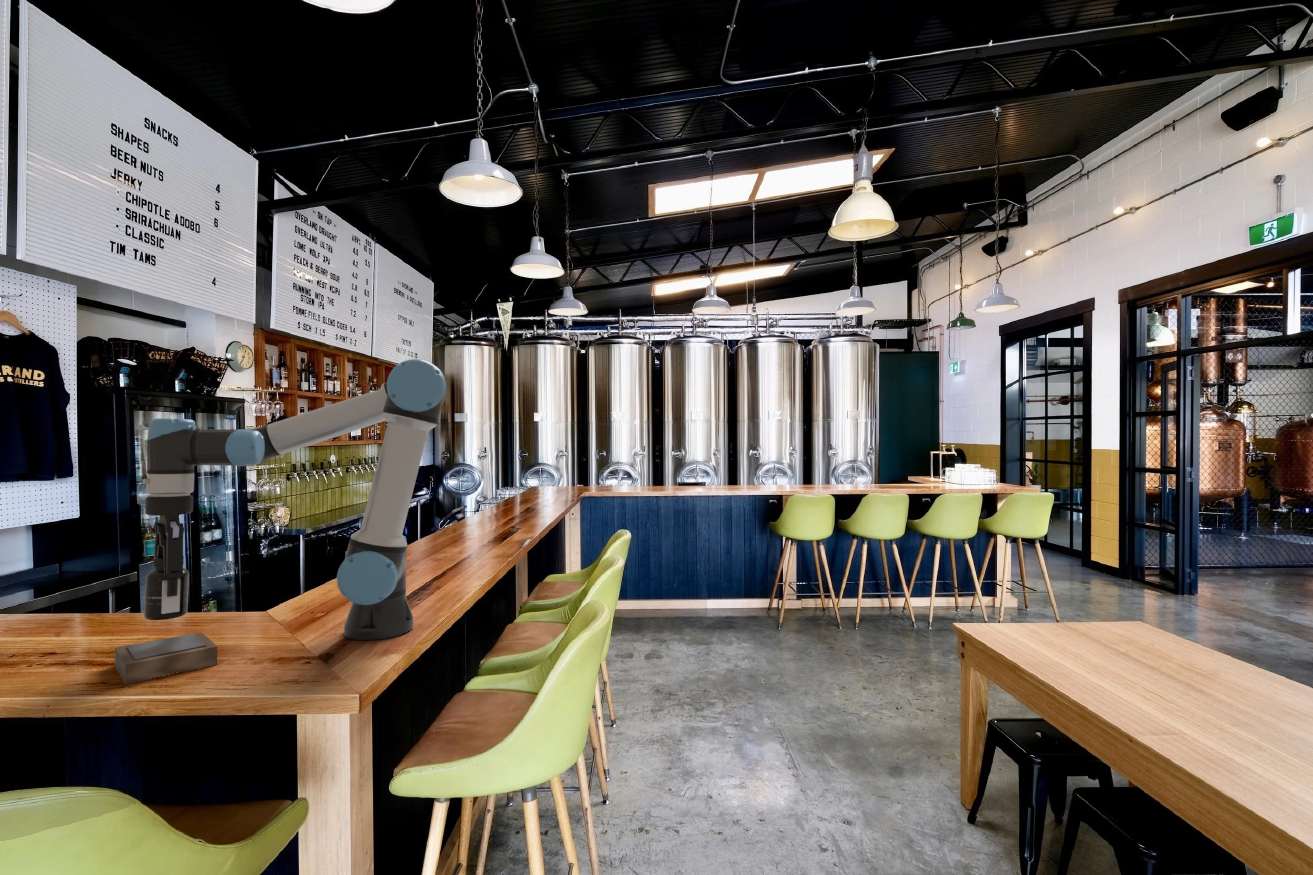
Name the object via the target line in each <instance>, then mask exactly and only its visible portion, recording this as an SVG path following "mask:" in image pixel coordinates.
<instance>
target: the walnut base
mask: <svg viewBox="0 0 1313 875" xmlns="http://www.w3.org/2000/svg"><path fill="white" fill-rule="evenodd" d="M213 665H214V666H218V645H217V644H215V643H214V642H213V641H212V640H211V639H210V638H208V636H207V635H205V633H203V632H202V631H201V632H200V631H199V632H195V633H188V634H183V635H177V636H172V637H171V636H170V637H166V638H161V639H155V640H154V639H153V640H149V641H144V642H138V643H133V644H128V645H122V646H115V648H114V668H115V669H116V671H117V673H118V674H119V676H120V679H121V680H122V682H123V683H124V685H125V686H126V685H130V684H135V682H136V683H140V682H144V680H145V681H149V679H150V680H153V679H152V678H154V679H156V678H155V677H159V676H163V675H168V674H172V673H176V672H182V671H186V672H190V671H189V670H191V671H195V670H194V669H196V670H200V669H204V667H205V668H208V667H207V666H209V667H213ZM182 673H183V672H182ZM168 676H169V675H168ZM163 677H164V676H163ZM159 678H160V677H159Z"/></svg>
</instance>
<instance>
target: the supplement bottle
mask: <svg viewBox="0 0 1313 875" xmlns="http://www.w3.org/2000/svg"><path fill="white" fill-rule="evenodd" d="M184 559H185V557H184V555H183V566H184V565H185V562H184ZM152 562H153V563H152V568H153V567H154V568H153V569H152V570H151V571H149V572H147V574H146V576H145V588H144V589H145V590H144V608H143V611H144V612H143V617H144V619H146V620H148V621H149V620H150V621H164V620H165V621H166V620H171V619H176V618H181V617H183V616H184V615H186V614H187V613H188V608H189V606H188V604H189V587H190V572H189V570H188V569H186V568H185V567H183V573H184V574H183V577H181V578H180V610H179V612H172V613H166V614H162V613H161V607H162V581H159V578H160V577H164V562H163V556H157V557H154V556H153V559H152ZM171 572H174V571H171Z"/></svg>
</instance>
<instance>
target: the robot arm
mask: <svg viewBox="0 0 1313 875" xmlns="http://www.w3.org/2000/svg"><path fill="white" fill-rule="evenodd" d="M447 396H448V386H447V382H446V379H445V376H444V374H443V372H442V370H441V369H440V368H438V366H436V365H435V364H434V363H432V362H429V361H427V360H425V359H424V360H423V359H418V358H413V359H412V358H411V359H407V360H404V361H401V362H400V363H398V364H397V365H395V367H393V368H392V369H391V371H390V373H389V375H388V378H387V380H386V382H384V383H382V384H381V386H380V388H379V389H376V390H374V391H371V392H367V393H364V394H360V395H357V396H354V397H350V398H348V399H346V400H341V401H339V402H335V403H332V404H328V405H325V406H323V407H319V408H316V409H313V410H310V411H306V412H303V413H300V414H297V415H295V416H294V415H293V416H291V417H290V416H289V417H288V418H284V419H282V420H278V421H274V422H272V423H269V424H265V425H262V426H258V427H256V428H253V429H243V428H241V429H240V428H239V429H226V428H225V429H223V428H222V429H221V428H220V429H218V428H217V429H214V428H213V429H208V428H207V429H205V428H204V429H203V428H197V426H196V421H195V420H193V419H188V418H187V419H186V418H167V417H166V418H164V417H163V418H161V417H159V418H153V419H152V420H150V422H148V423H149V424H148V431H147V438H146V441H145V442H146V448H147V449H146V477H147V478H143V479H142V484H146V486H145V487H146V488H145V493H147V494H148V495H149V496H146V498H145V506H144V507H145V508H144V512H145V514H146V516H154V517H155V516H158V517H159V518H158V521H155V523H154V531H155V532H154V533H155V534H154V550H153V551H154V552H153V555H154V556H153V558H154V557H157V556H163V562H164V577H160V578H159V581H162V607H161V613H162V614H166V613H172V612H179V610H180V578H181V577H183V574H184V573H183V568H184V565H183V556H184V533H185V527H184V523H181V522H180V515H188V514H191V513H193V511H194V496H193V495H191V493H193V492H194V491H195V466H225V467H226V466H234V467H235V466H236V467H248V466H256V465H259V464H263V463H265V462H267V461H269V460H271V459H273V458H276V457H279V456H283V455H285V454H288V453H290V452H294V451H296V450H299V449H304V448H306V447H309V446H312V445H315V444H318V443H321V442H325V441H327V440H330V439H333V438H337V437H339V436H342V435H346V434H349V433H352V432H354V431H355V432H356V431H358V430H362V429H365V428H367V427H371V426H373V425H374V426H375V425H376V424H377V425H378V424H380V423H382V422H387V425H386V429H385V431H384V436H383V440H382V445H381V448H380V452H379V456H378V460H377V464H376V467H375V471H374V474H373V479H372V483H371V487H370V491H369V494H368V498H367V502H366V506H365V511H364V514H363V518H362V522H361V526H360V529H359V530H357V531H355V532H353V533H352V534H351V535H350V538H349V542H348V546H347V549H346V554H345V556H344V560H343V561H342V563H341V564H340V565H339V567H338V570H337V574H336V583H337V584H336V585H337V588H338V590H339V592H340V594H341V595H342V596H343V598H345V599H346V600H347V601H350V602H351V605H350V608H349V611H348V614H347V615H346V616H347V617H346V619H345V623H344V626H343V636H344V637H345V638H347V639H351V640H357V641H371V640H374V641H375V640H382V639H389V638H394V637H397V636H398V637H399V636H400V635H404V634H406V632H407V633H409V632H411V631H412V630H413V628H414V616H413V613H412V610H411V607H410V605H409V601H408V599H407V549H408V543H407V537H406V536H404V535H403V532H404V528H405V524H406V522H407V521H406V520H407V517H408V514H409V513H408V512H409V509H410V506H411V501H412V497H413V493H414V488H415V485H416V480H417V477H418V474H419V469H420V465H421V461H422V456H423V453H424V449H425V445H426V441H427V437H428V433H429V431H432V429H434V428H435V427H437V426H438V423H439V419H440V416H441V415H440V414H441V411H442V407H443V405H444V404H445V402H446V401H447V400H446V399H447ZM152 568H153V569H154V567H153V566H152ZM171 571H174V572H171ZM411 629H412V630H411ZM408 631H409V632H408ZM403 633H404V634H403Z"/></svg>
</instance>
